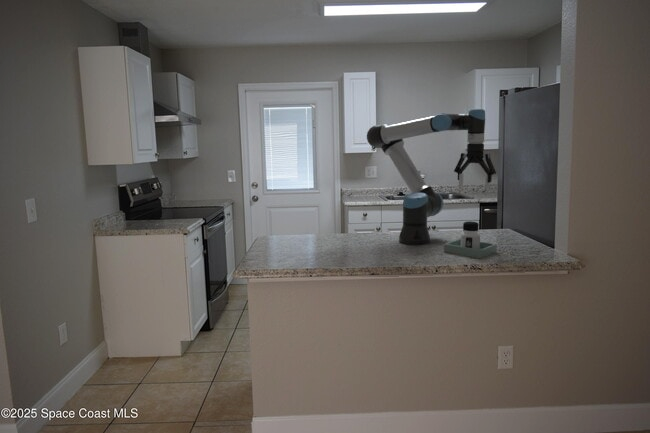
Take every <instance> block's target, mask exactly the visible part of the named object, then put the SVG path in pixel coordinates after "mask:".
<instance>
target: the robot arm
mask: <svg viewBox="0 0 650 433" xmlns="http://www.w3.org/2000/svg"><path fill="white" fill-rule="evenodd" d="M485 129H486V110H485V109H481V108H473V109H469V110H468V112H467V113H437V114H435V115H432V116H428V117H423V118H417V119H414V120H409V121H404V122H400V123H396V124H378V125H377V124H376V125H373V126H372V127H370V128H369V129H368V131H367V133H366V140H367V143H368V144H369V145H370V146H371V147H373V148H376V149H381V150H382V152H383V153H384V155H385V156H386V155H387V156H389V158H390V160H391V161H392V162H393V165H394V167H395V168H396V169H397V171H398V173H399V174H400V176H401V177H402V180H403V181H404V183H405V185H406V186H407V187H408V189H409V192H410V193H407V194H405V195H404V196H403V201H402V227H401V229H400V230H401V231H400V233H399V236H398V241H399V243H402V244H405V245H413V246H414V245H415V246H417V245H419V246H421V245H426V244H427V245H428V244H430V243H431V236H430V235H431V234H430V232H429V229H428V218H429V217H434V216H436V215H437V214H439V213H441V211H442V210H443V208H444V199H443V196H442V195H441V194H440V193H437V192H435V191H434V189H433V187H432V186H431V185H428V184H427V183H426V182H425V179H424V178H423V177H422V175H421V173H420V171H419V170H418V168H417V167H416V164H414V162H413V160H412V159H411V157H410V155H409V154H408V152H407V150H406V149H405V147H404V145H405V141H404V139H409V138H413V137H418V136H423V135H430V134H433V133H434V134H435V133H440V132H445V131H467V141H466V142H467V145H466V151H467V152H462V153H460V157H459V159H458V162H457V163H456V165H455V168H454V170H453V172H454V173H456V174H457V181H458V188H463V187H464V175H465V174H464V173H463V172H464V171H465V170H466V169H467V167H469V165H470V164H478V165H480V167H481V168H482V170H483V172H484V173H486V175H485V186H484V190H486V191H488V190H490V187H491V186H490V183H492V180H493V179H492V176H493V175H496V174H497V171H496V169H495V166H494V164H493V161H492V159H491V154H490V153H485V152H484V151H485V144H484V143H485V131H486V130H485ZM484 153H485V154H484ZM466 158H467V159H466ZM465 159H466V160H465ZM484 159H485V160H484ZM464 161H465V162H464ZM485 162H486V163H485Z"/></svg>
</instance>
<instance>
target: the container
mask: <svg viewBox="0 0 650 433" xmlns="http://www.w3.org/2000/svg"><path fill="white" fill-rule="evenodd" d="M460 238H461V246H462V247H468V248H474V249H480V242H481V235H480V233H479V223H478V222H477V221H471V220H470V221H467V220H466V221H464V222H463V224H462V231H461V232H460Z"/></svg>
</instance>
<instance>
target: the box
mask: <svg viewBox="0 0 650 433" xmlns="http://www.w3.org/2000/svg"><path fill="white" fill-rule="evenodd" d="M497 248H498V244H497V243H492V242H491V243H490V242H487V241H486V242H485V241H480V249H474V248H468V247H462V246H461V237H460V238H457V239H455V240H451V241H448V242H446V243H444V244H443V252H444V253H450V254H454V255H460V256H465V257H473V258H478V259H483V258H485V257H487V256H488V257H489V256H490V255H492V253H493V254H495V253H497V252H498V251H497Z"/></svg>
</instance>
